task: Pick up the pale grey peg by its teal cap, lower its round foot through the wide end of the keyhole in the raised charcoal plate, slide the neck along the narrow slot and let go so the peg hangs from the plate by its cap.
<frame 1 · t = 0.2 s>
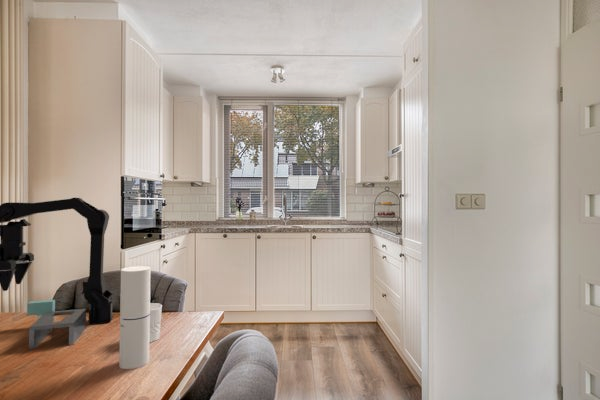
hand: (12, 287, 112), 14 cm above the table, tool pointing down, fingers open, 9 cm apart
cylindrical container: (134, 363, 90), on the table
white cup: (148, 339, 106), on the table
keyhole plate: (59, 337, 105), on the table
peg: (41, 326, 115), on the table
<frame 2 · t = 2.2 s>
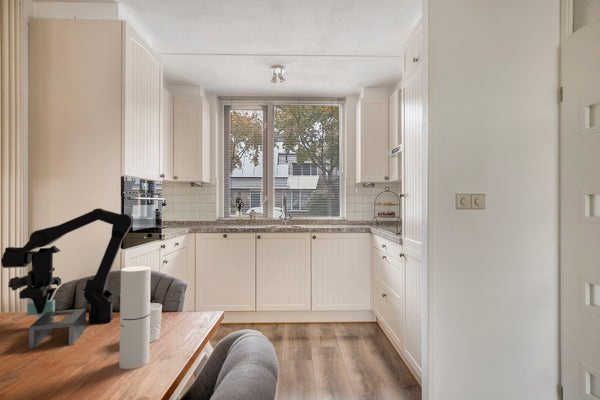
hand: (41, 312, 115), 5 cm above the table, tool pointing down, fingers closed on peg, 2 cm apart
peg: (41, 326, 115), on the table, touching gripper
everything else where it was.
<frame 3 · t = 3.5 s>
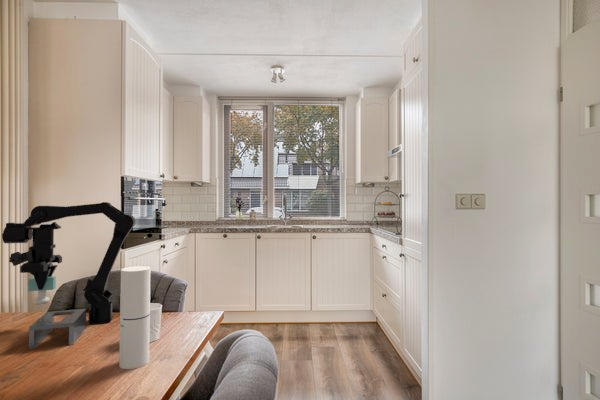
hand: (42, 288, 114), 13 cm above the table, tool pointing down, fingers closed on peg, 2 cm apart
peg: (41, 302, 114), point 8 cm above the table, touching gripper
everything else where it was.
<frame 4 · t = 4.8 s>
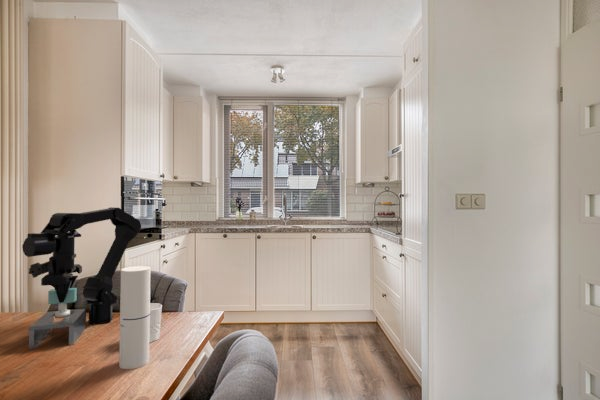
hand: (63, 301, 108), 11 cm above the table, tool pointing down, fingers closed on peg, 2 cm apart
peg: (62, 316, 108), point 6 cm above the table, touching gripper
everything else where it was.
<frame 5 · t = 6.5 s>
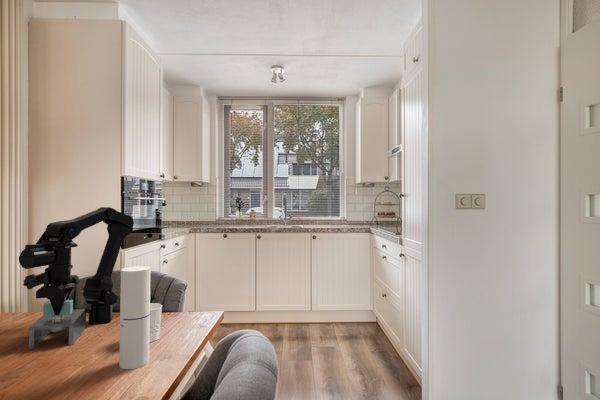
hand: (58, 313, 104), 8 cm above the table, tool pointing down, fingers closed on peg, 2 cm apart
peg: (58, 329, 104), point 3 cm above the table, touching gripper
everything else where it was.
when the fingers open (8 cm above the table, at t = 7.8 s): peg stays where it is, resting on keyhole plate.
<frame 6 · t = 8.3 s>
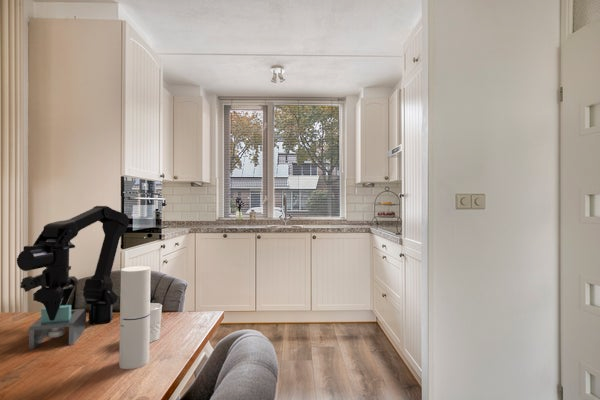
hand: (56, 315, 103), 8 cm above the table, tool pointing down, fingers open, 8 cm apart
peg: (56, 335, 103), point 2 cm above the table, touching keyhole plate
everything else where it was.
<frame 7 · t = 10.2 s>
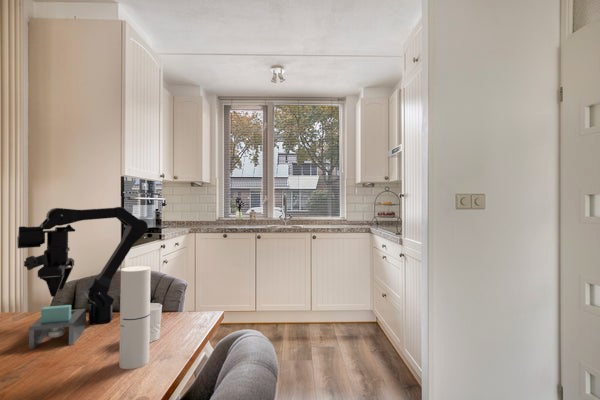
hand: (57, 292, 112), 12 cm above the table, tool pointing down, fingers open, 9 cm apart
nothing on the table moved.
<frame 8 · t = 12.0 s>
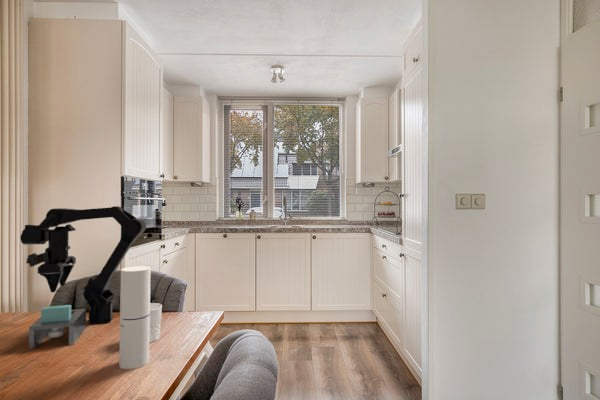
hand: (57, 288, 118), 12 cm above the table, tool pointing down, fingers open, 9 cm apart
nothing on the table moved.
at the end: peg 0.1 cm from the target spot on the keyhole plate, point 2.0 cm above the keyhole plate's base; peg touching keyhole plate; peg tilted 0° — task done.
